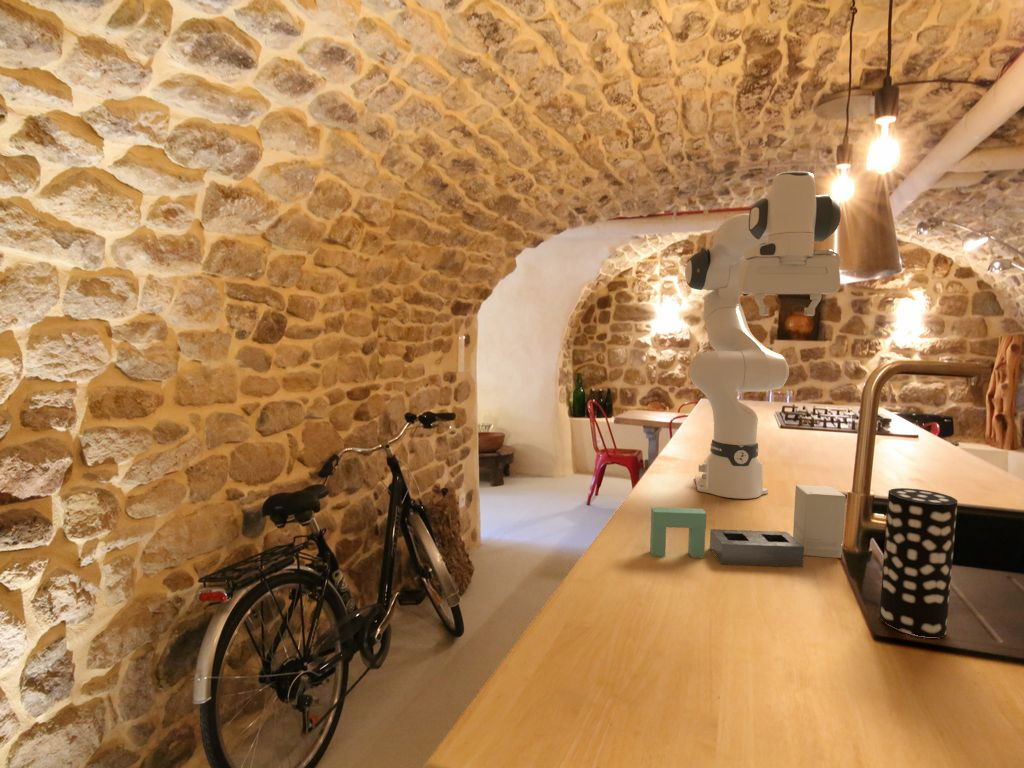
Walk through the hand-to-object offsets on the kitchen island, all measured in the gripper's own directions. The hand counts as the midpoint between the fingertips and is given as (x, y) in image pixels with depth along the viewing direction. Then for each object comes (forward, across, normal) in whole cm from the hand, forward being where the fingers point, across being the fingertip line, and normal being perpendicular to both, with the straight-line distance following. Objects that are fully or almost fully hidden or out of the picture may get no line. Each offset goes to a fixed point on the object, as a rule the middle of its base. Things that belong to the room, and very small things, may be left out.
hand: (786, 315), depth 120 cm
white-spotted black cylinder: (+48, -5, +39) cm, 62 cm away
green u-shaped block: (+48, +25, +14) cm, 56 cm away
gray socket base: (+48, +10, +15) cm, 51 cm away
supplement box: (+48, -4, +10) cm, 49 cm away
